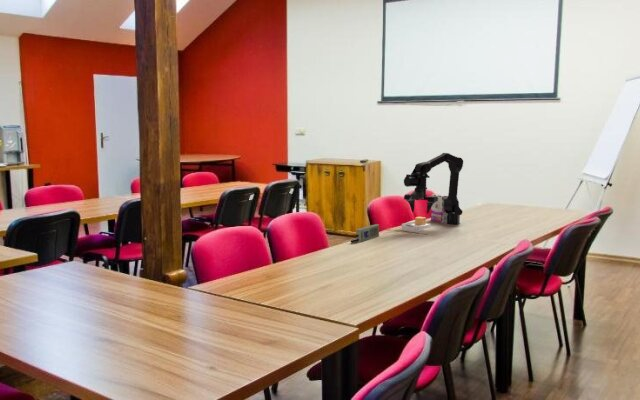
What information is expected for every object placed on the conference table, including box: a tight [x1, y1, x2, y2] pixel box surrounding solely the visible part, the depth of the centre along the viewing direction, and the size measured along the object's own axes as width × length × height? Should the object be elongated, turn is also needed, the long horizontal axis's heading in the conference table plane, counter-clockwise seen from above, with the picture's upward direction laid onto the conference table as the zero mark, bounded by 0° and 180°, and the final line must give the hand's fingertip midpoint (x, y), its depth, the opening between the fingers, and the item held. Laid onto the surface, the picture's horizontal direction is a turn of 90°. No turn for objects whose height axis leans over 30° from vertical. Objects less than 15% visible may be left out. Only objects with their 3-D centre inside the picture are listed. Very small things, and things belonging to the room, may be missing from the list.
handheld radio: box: [350, 223, 380, 244], centre depth 303 cm, size 7×3×25 cm
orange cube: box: [414, 216, 427, 225], centre depth 337 cm, size 4×4×4 cm
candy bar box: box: [430, 193, 448, 224], centre depth 357 cm, size 11×5×16 cm, turn 26°
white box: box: [401, 219, 431, 233], centre depth 334 cm, size 10×18×4 cm, turn 144°
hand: (420, 213), depth 336 cm, fingers open, 9 cm apart
